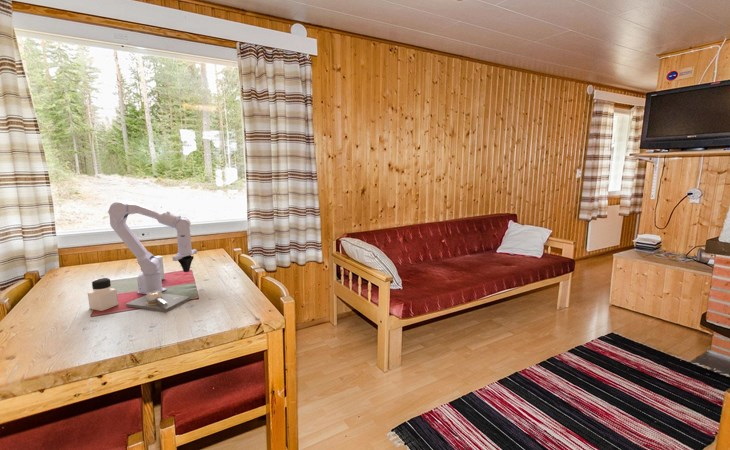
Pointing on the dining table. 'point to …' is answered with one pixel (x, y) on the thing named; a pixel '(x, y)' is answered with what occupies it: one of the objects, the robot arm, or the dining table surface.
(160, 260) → the skincare box
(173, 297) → the board
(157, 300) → the tan piece
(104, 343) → the dining table surface
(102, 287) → the medicine bottle
